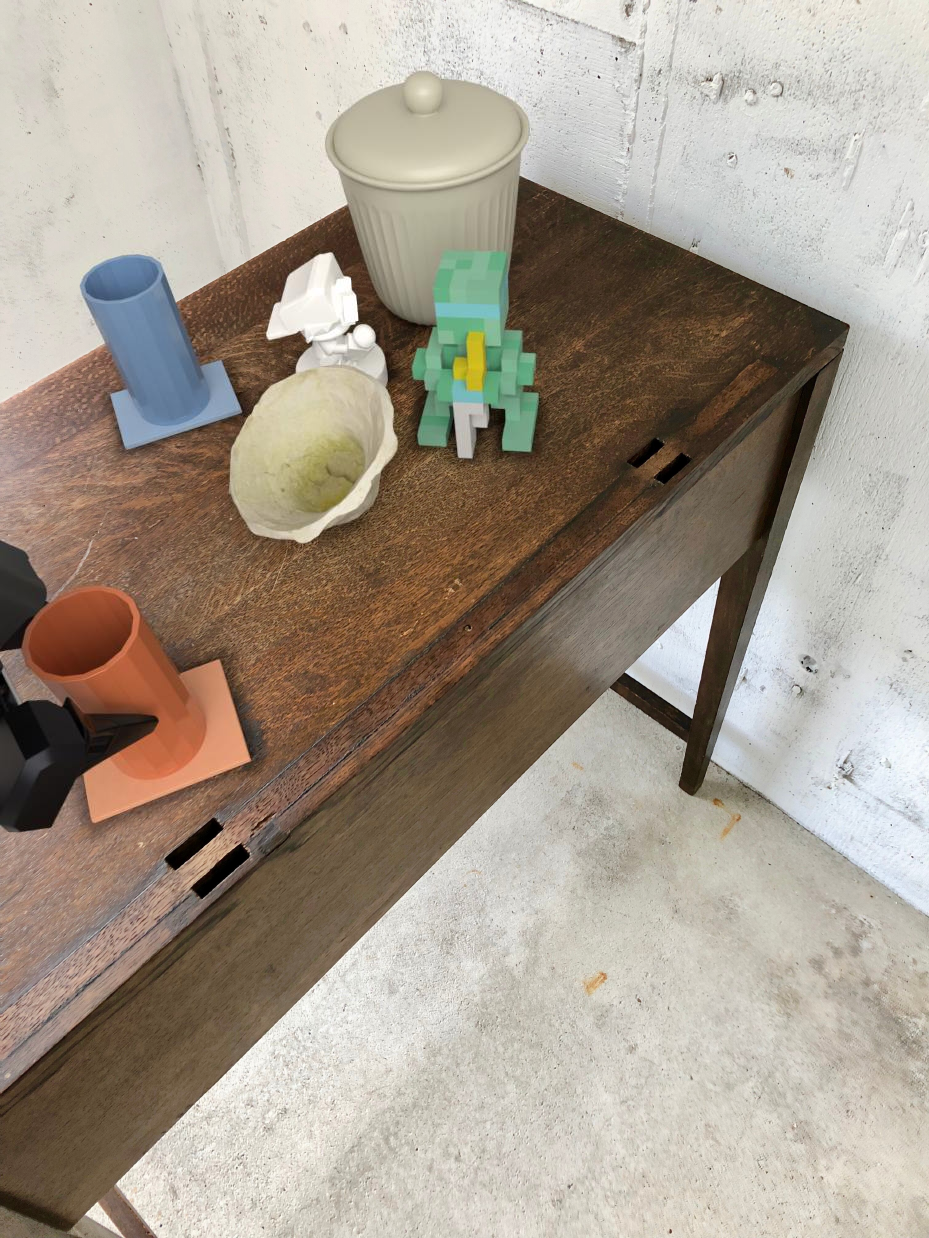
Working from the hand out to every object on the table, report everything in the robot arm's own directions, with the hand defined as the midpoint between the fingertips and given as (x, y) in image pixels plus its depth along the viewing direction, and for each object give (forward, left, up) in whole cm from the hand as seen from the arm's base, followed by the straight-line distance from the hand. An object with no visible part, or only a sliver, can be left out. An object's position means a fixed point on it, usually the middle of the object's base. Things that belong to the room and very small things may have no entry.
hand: (125, 674), depth 56 cm
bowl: (+17, +16, -8) cm, 25 cm away
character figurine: (+23, +31, -8) cm, 39 cm away
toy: (+33, +20, -8) cm, 39 cm away
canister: (+37, +39, -8) cm, 54 cm away
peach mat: (-1, 0, -8) cm, 8 cm away
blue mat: (+8, +35, -8) cm, 37 cm away
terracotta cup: (-1, 0, -8) cm, 8 cm away
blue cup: (+8, +35, -8) cm, 37 cm away
